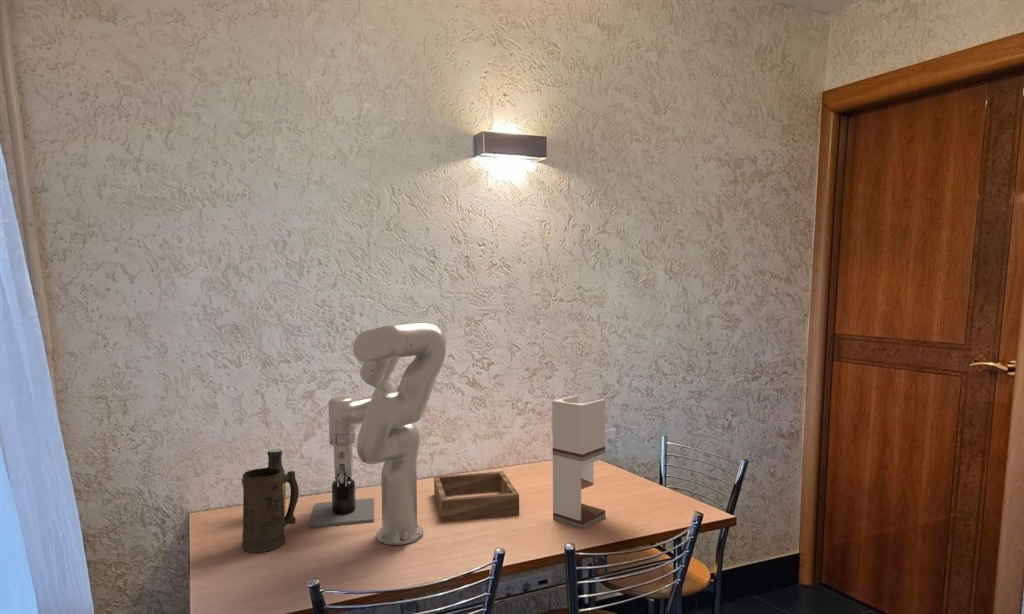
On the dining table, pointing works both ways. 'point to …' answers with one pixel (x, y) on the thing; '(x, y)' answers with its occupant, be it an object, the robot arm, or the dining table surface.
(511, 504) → the crate
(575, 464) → the white notched column
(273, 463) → the sauce bottle
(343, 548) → the dining table surface
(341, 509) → the supplement bottle
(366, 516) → the mat
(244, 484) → the beer stein
